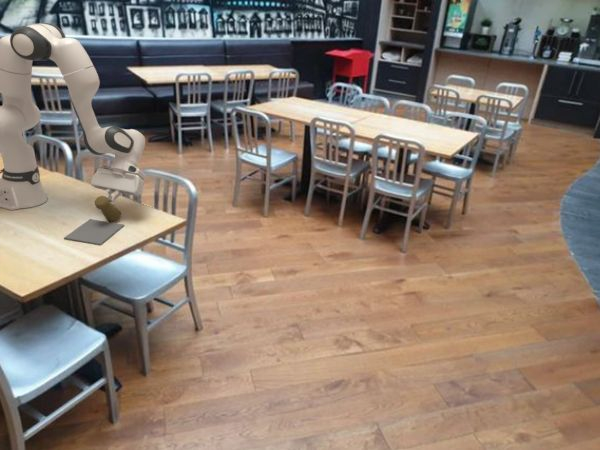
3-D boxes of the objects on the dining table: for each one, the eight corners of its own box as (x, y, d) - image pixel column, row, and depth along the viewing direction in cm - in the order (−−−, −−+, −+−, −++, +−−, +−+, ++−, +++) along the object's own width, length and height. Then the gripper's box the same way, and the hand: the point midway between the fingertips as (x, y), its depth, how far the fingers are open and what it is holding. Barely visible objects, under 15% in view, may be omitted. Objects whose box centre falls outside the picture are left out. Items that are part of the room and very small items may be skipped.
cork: (117, 223, 175) (103, 207, 166) (103, 221, 176) (89, 206, 167) (123, 210, 178) (110, 194, 169) (109, 208, 179) (95, 192, 170)
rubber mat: (64, 239, 162) (63, 237, 161) (90, 220, 176) (90, 218, 176) (100, 245, 160) (100, 244, 160) (124, 225, 174) (124, 224, 174)
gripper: (95, 161, 176) (81, 193, 172) (142, 170, 172) (129, 203, 168) (103, 168, 182) (90, 199, 178) (149, 177, 178) (137, 209, 174)
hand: (109, 201), depth 173 cm, fingers closed
